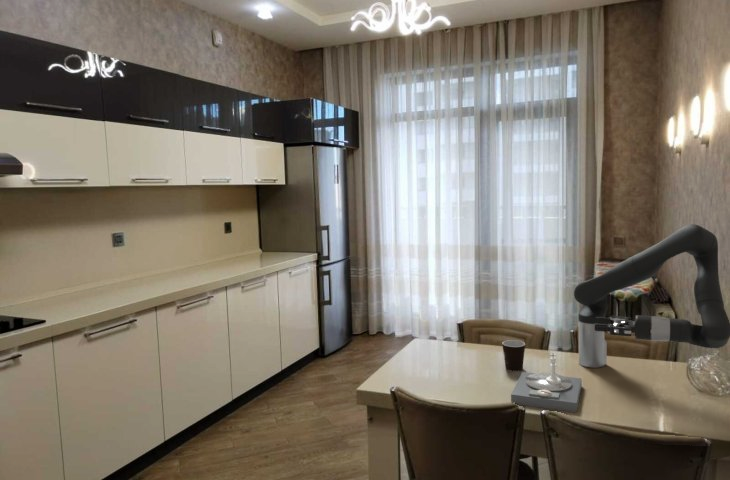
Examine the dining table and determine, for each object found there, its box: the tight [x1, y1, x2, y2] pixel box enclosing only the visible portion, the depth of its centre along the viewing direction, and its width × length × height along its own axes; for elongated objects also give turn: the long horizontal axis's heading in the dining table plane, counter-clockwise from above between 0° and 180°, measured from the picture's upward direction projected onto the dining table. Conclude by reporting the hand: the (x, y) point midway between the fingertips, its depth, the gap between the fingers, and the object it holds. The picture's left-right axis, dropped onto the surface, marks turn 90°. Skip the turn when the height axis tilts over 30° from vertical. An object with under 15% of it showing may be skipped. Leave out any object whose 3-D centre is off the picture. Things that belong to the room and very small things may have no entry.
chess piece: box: [546, 352, 561, 384], centre depth 175 cm, size 5×5×10 cm
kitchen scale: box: [510, 371, 583, 413], centre depth 174 cm, size 22×20×4 cm
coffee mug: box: [501, 339, 526, 372], centre depth 202 cm, size 12×9×10 cm
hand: (595, 323), depth 168 cm, fingers open, 8 cm apart
